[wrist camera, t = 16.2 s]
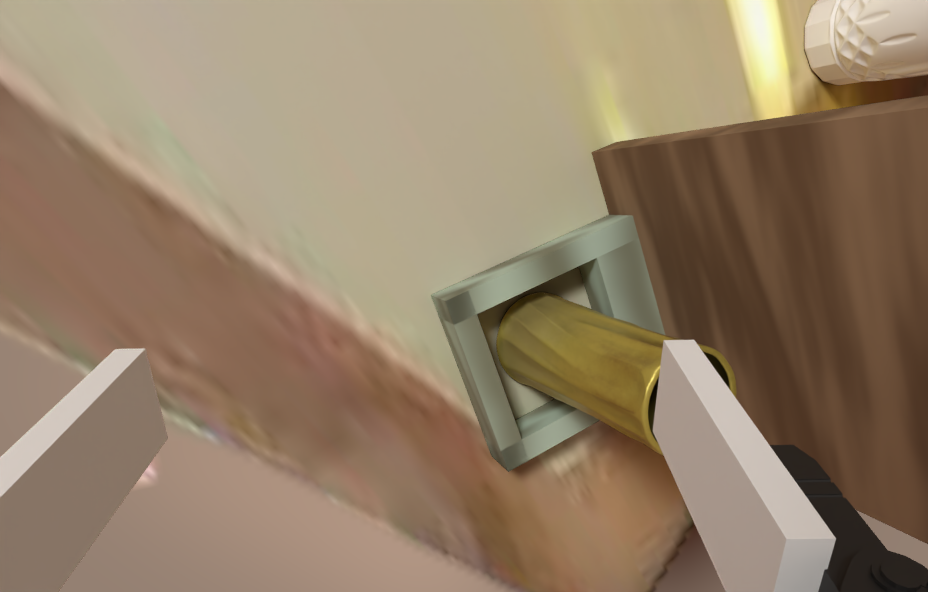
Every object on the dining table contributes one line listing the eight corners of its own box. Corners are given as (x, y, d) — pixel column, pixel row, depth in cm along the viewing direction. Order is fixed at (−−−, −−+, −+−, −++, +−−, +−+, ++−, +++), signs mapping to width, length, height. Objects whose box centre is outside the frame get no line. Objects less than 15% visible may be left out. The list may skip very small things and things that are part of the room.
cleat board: (512, 510, 42) (845, 855, 20) (405, 228, 36) (699, 268, 14) (688, 407, 46) (1124, 594, 24) (616, 142, 41) (1090, 70, 19)
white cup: (782, 11, 44) (931, -39, 35) (855, -38, 46) (1014, -98, 37) (817, 112, 47) (964, 90, 38) (885, 62, 49) (1041, 29, 39)
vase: (574, 284, 41) (743, 322, 28) (582, 373, 42) (748, 450, 29) (489, 301, 39) (629, 352, 26) (500, 394, 40) (639, 488, 27)
